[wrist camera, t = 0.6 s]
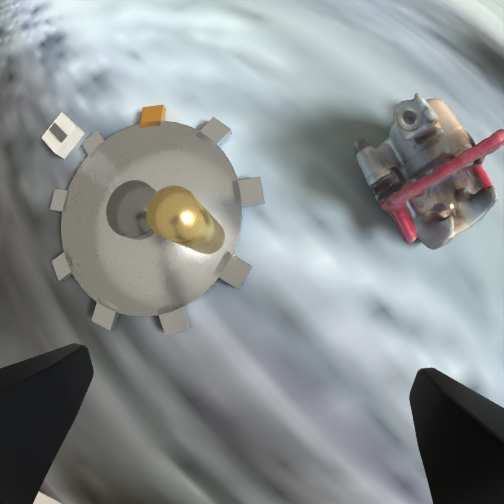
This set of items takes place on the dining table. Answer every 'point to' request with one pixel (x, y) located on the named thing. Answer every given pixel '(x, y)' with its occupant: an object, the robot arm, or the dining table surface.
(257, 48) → the dining table surface
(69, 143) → the block
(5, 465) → the robot arm
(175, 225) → the sprocket
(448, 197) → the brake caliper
